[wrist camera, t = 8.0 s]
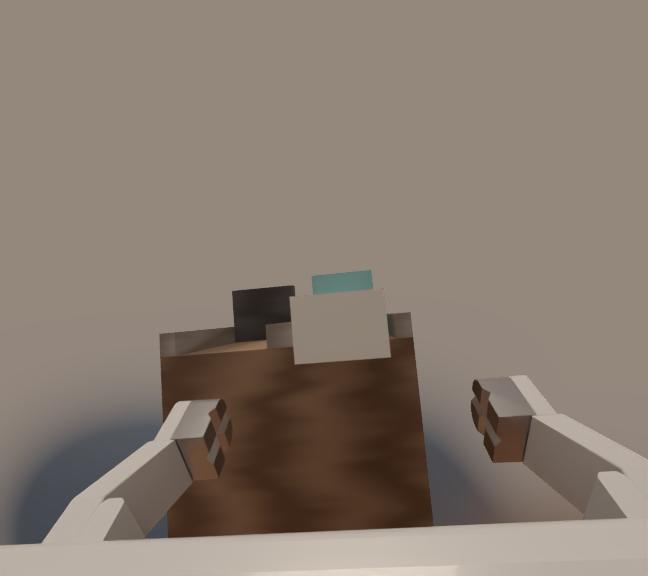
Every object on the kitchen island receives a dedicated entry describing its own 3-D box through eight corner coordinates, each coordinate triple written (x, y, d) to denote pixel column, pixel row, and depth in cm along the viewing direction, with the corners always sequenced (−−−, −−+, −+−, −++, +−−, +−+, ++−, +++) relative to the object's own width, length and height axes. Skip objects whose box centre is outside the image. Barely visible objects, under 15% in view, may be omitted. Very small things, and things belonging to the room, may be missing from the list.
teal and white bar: (370, 331, 32) (365, 284, 32) (397, 356, 12) (385, 233, 12) (328, 334, 32) (324, 288, 33) (288, 365, 12) (278, 245, 13)
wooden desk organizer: (421, 622, 30) (385, 277, 33) (466, 826, 18) (404, 255, 21) (246, 624, 31) (226, 292, 34) (179, 816, 19) (157, 280, 22)
